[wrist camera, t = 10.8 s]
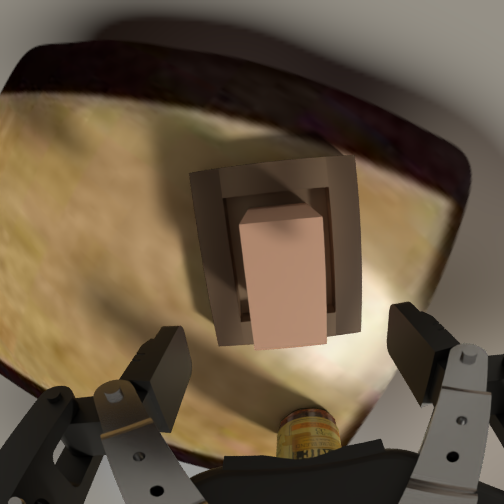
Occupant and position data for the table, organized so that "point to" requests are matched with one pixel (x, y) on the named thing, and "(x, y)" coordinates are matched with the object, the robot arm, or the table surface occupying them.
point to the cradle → (269, 194)
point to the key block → (285, 275)
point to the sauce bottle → (307, 434)
